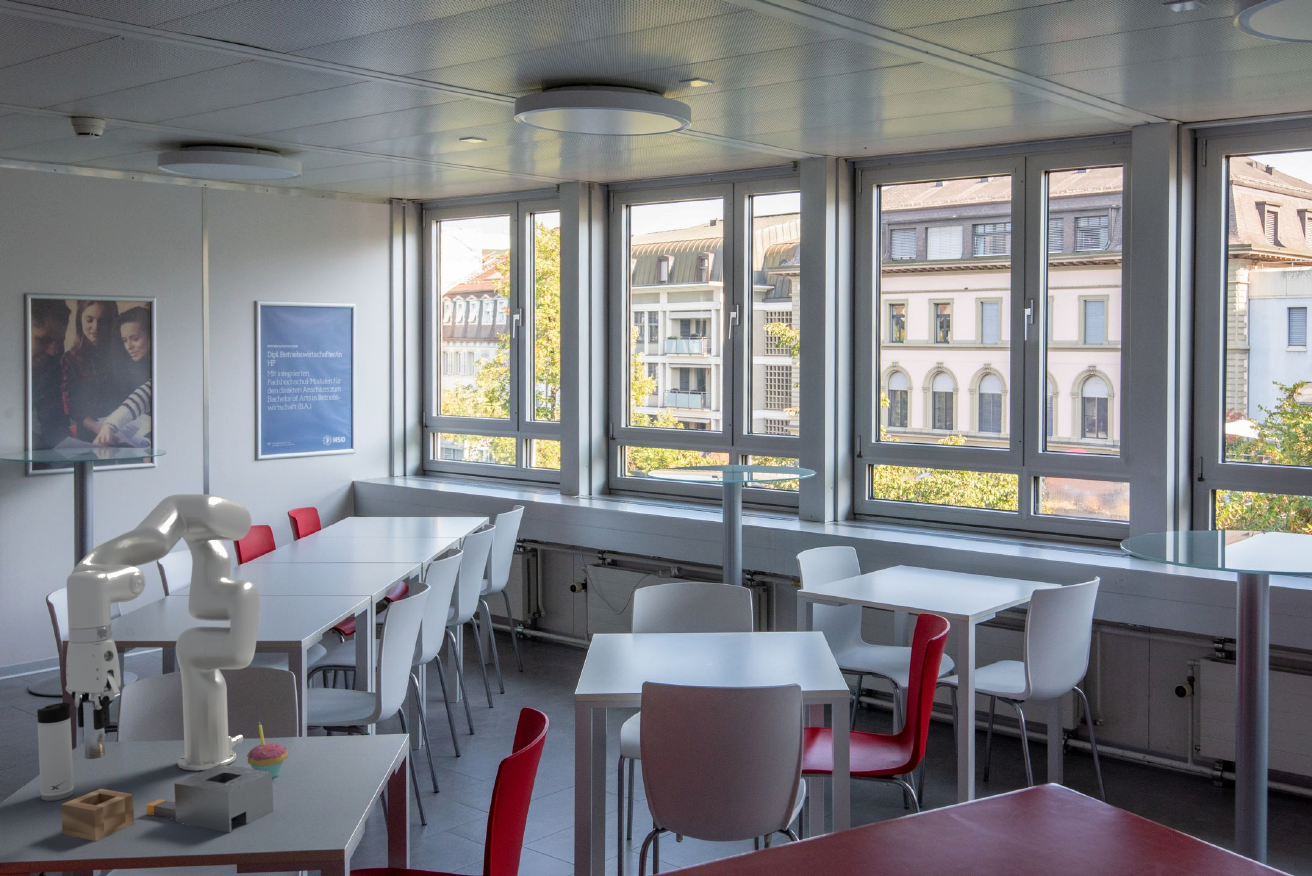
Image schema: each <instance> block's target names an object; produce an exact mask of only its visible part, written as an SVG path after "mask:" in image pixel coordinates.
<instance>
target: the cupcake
mask: <svg viewBox="0 0 1312 876" xmlns="http://www.w3.org/2000/svg"><path fill="white" fill-rule="evenodd" d="M258 731H259V737H260V742H261V744H258V745H256V746H255V747H253V748H251V749H250V751H249V752H248V753H247V756H246V758H247V763H248V764H249V765H250V766H251V769H254V770H261V771H267V772H272V779H274V778H276V777H278V776H279V775H280V772H281V771H280V770H281V767H282V765H283V762H284V761H285V760H286V759H287V758H288V757H289V754H288V753H289V752H288V749H287V748H286V747H284V746H283V745H281V744H279V743H274V742H273V743H271V742H269V743H268V742H267V743H266V742H265V737H264V732H263V726H262V724H261V722H260V721H258Z"/></svg>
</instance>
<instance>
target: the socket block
mask: <svg viewBox="0 0 1312 876" xmlns="http://www.w3.org/2000/svg"><path fill="white" fill-rule="evenodd" d="M273 788H274V787H273V778H272V772H267V771H261V770H254V769H253V768H249V767H248V768H246V767H241V766H235V765H229V764H228V765H222V764H219V765H217V766H214V767H212V768H210V769H207V770H201V771H200V772H198V773H196V774H193V775H191V776H189V777H187V778H184V779H181V780H178V781H176V782H174V802H175V808H176V819H175V823H176V824H181V823H184V824H183V825H187V826H192V827H196V828H197V827H198V828H204V829H208V830H209V829H210V830H214V831H219V832H225V833H231V832H232V822H233V823H238V824H243V825H247V824H250V823H252V822H254V821H256V820H258V819H259V818H261V817H264V816H266V815H267V814H269V813H272V812H273V811H274V792H273V790H274V789H273Z"/></svg>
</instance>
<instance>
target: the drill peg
mask: <svg viewBox="0 0 1312 876" xmlns="http://www.w3.org/2000/svg"><path fill="white" fill-rule="evenodd" d="M102 699H103V698H101V700H102ZM95 709H96V707H95V700H94V698H91V699H88V700H85V701H83V721H84V727H83V742H84V743H83V744H84V759H87V760H94V759H95V760H96V759H100V758H103V757H104V756H105V755H106V741H105V737H106V736H105V728H102V729H99V730H95V729H94V716H93V710H95Z"/></svg>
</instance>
